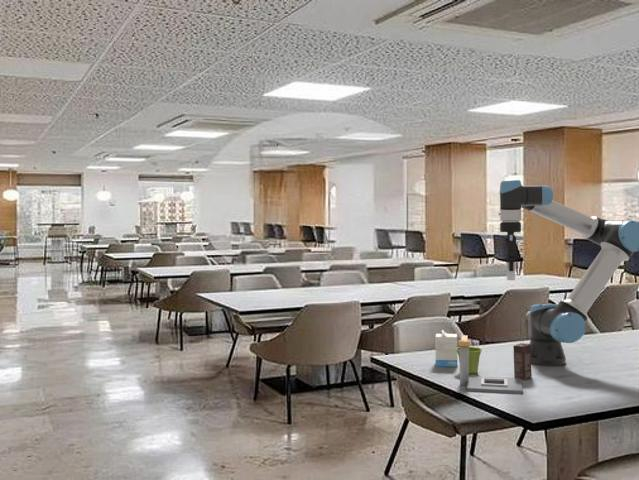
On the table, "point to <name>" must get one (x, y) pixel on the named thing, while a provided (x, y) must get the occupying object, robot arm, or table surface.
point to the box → (522, 361)
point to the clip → (464, 341)
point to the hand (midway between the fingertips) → (510, 278)
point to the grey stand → (485, 379)
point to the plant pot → (472, 358)
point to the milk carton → (446, 349)
